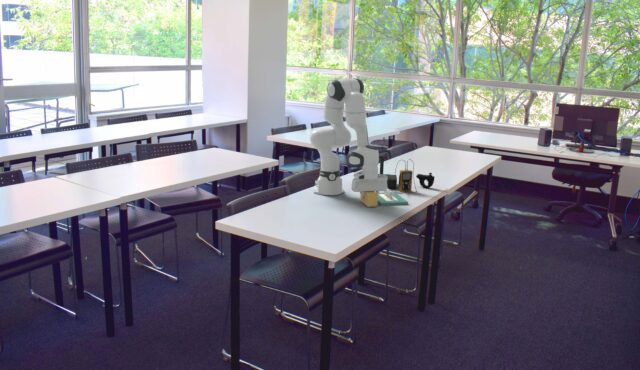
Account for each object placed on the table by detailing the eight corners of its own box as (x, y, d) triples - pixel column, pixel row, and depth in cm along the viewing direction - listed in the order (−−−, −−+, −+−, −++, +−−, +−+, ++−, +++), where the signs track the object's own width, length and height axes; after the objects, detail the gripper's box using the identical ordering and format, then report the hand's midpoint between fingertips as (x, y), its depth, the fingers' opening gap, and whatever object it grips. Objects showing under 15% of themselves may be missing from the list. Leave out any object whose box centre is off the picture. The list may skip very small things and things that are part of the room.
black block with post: (395, 183, 373) (397, 153, 369) (396, 189, 357) (398, 158, 352) (366, 182, 375) (367, 152, 370) (365, 188, 359) (367, 157, 354)
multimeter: (398, 195, 343) (400, 162, 338) (393, 191, 353) (394, 159, 348) (421, 194, 346) (423, 162, 341) (415, 190, 356) (417, 158, 351)
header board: (369, 195, 341) (369, 185, 340) (394, 194, 345) (395, 184, 343) (380, 205, 320) (381, 194, 319) (407, 204, 324) (408, 193, 322)
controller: (431, 189, 358) (432, 174, 355) (414, 186, 366) (415, 171, 363) (435, 188, 361) (436, 173, 358) (418, 185, 369) (419, 170, 366)
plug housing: (360, 200, 329) (360, 188, 327) (369, 199, 330) (370, 187, 329) (367, 206, 316) (368, 194, 315) (377, 206, 318) (377, 194, 316)
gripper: (385, 172, 325) (384, 196, 328) (351, 173, 320) (350, 197, 323) (389, 175, 319) (388, 199, 322) (354, 176, 314) (353, 200, 317)
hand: (368, 198), depth 323 cm, fingers closed on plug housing, 6 cm apart
